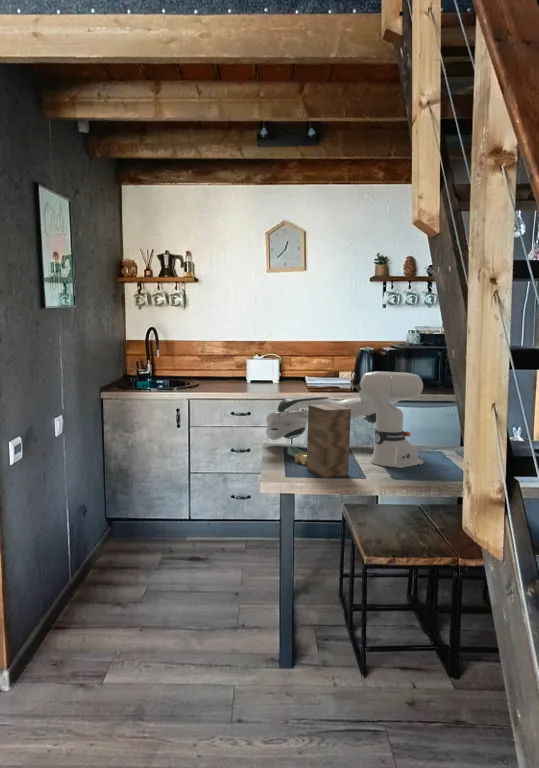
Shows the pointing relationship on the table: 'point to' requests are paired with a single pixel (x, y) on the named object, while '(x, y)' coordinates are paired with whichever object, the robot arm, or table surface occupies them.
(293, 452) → the gear axle
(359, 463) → the table surface
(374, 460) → the robot arm
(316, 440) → the walnut stand
